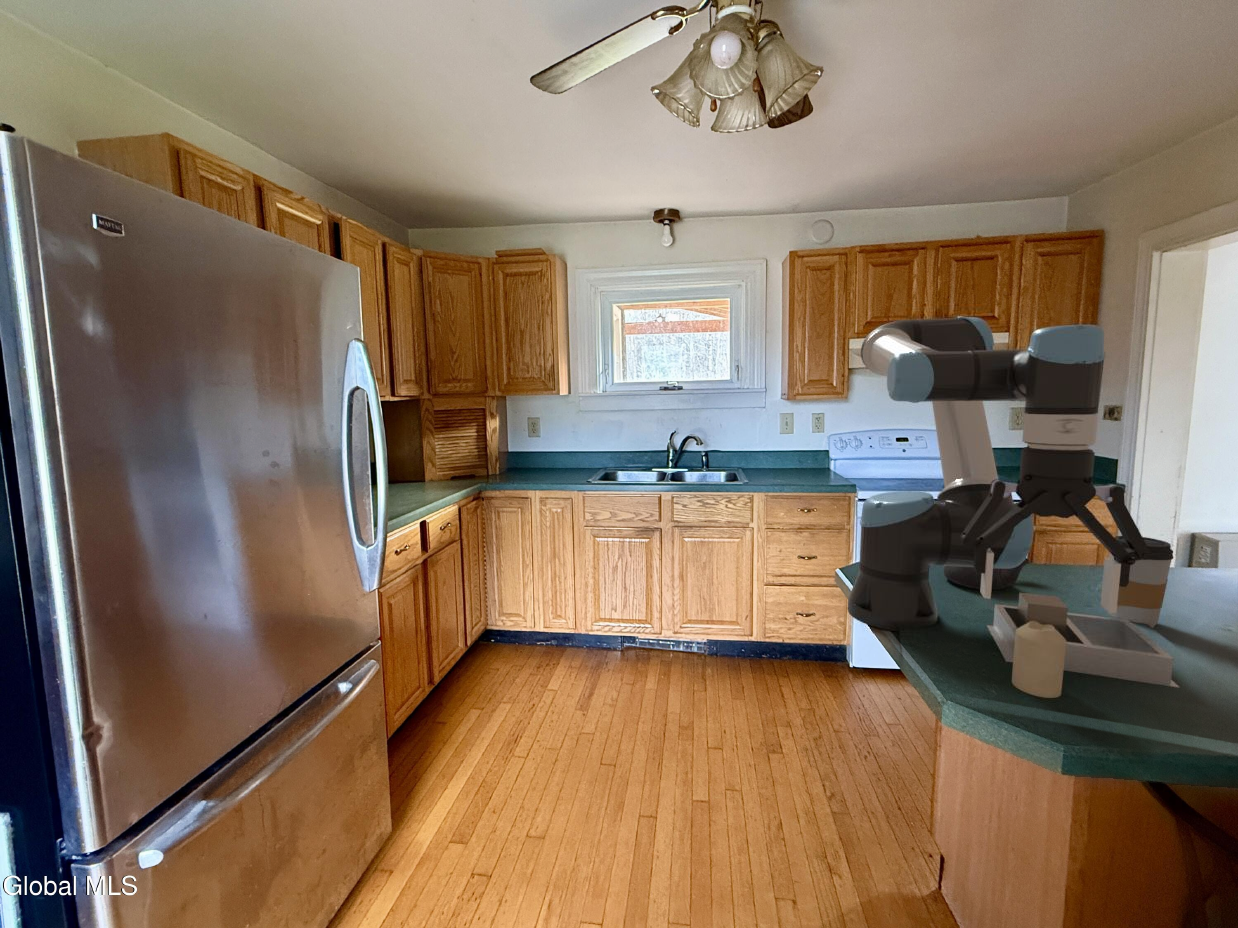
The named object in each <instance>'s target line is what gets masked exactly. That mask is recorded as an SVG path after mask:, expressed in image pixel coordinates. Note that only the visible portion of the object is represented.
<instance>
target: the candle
mask: <svg viewBox="0 0 1238 928" xmlns="http://www.w3.org/2000/svg"><path fill="white" fill-rule="evenodd" d="M1065 649H1066V639H1065V638H1064V637H1063V636H1062V635H1061V634H1060V633H1059V632H1058V631H1057V630H1056V629H1055V628H1054V627H1053V626H1052V625H1042V624H1040V623H1038V622H1036V621H1030V622H1028V623H1027V624H1025V625H1023V626H1021V627H1019V628H1018V629H1016V634H1015V646H1014V658H1013V663H1012V672H1011V684H1012V685H1013V686H1014V687H1015V688H1016V689H1018V690H1020V691H1022V692H1024V693H1027V694H1029V695H1032V696H1036V697H1040V698H1046V699H1047V698H1048V699H1049V698H1050V699H1054V698H1059V697H1061V695H1062V689H1063V680H1064V679H1063V678H1064V671H1065V670H1064V659H1065Z"/></svg>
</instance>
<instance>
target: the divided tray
mask: <svg viewBox="0 0 1238 928" xmlns="http://www.w3.org/2000/svg"><path fill="white" fill-rule="evenodd" d="M993 613H994V614H993V625H989V624H987V625H986V627H987V629H988V631H989V633H990V634H991V637H992V638H993V640H994V642H995V644H996V646H997V648H998V649H999V650H1000V653H1001V654H1002V657H1003V659H1004V660H1005V662H1007V663H1012V664H1013V658H1014V646H1015V634H1016V629H1018V628H1017V615H1018V606H1015V605H1004V604H996V603H995V604H994V611H993ZM1065 639H1066V649H1065V659H1064V670H1063V671H1067V672H1073V673H1079V674H1085V675H1086V674H1087V675H1093V676H1099V677H1100V676H1101V677H1107V678H1113V679H1119V680H1126V681H1133V682H1139V683H1145V684H1153V685H1158V686H1159V685H1160V686H1167V687H1171V688H1172V687H1173V688H1181V687H1180V686H1179V685H1178V684H1177V683H1176V682H1175V681H1173V680H1172V673H1173V667H1174V661H1175V660H1174V658H1173V656H1171V654H1169V653H1168V652H1166V651H1165V650H1164V649H1163V648H1161V646H1159V645H1158V644H1157V643H1156V642H1155V641H1154V640H1152V639H1151V638H1150V637H1149V636H1148V635H1147V634H1145V633H1144V632H1143V631H1142V630H1140V629H1139V628H1138V627H1137V626H1136V625H1135V624H1134V623H1133V622H1132V621H1129V620H1126V619H1121V618H1118V617H1109V616H1099V615H1092V614H1091V615H1090V614H1082V613H1072V612H1067V623H1066V633H1065Z"/></svg>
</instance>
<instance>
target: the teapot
mask: <svg viewBox="0 0 1238 928" xmlns="http://www.w3.org/2000/svg"><path fill="white" fill-rule="evenodd" d="M1030 563H1031V561H1030V560H1029V559H1028V557H1026V558H1025V560H1024V561H1023V562H1022V563H1021V564H1020V565H1019V566H1017V567H1015V568H1010V569H1000V568H993V574H992V588H991V590H1001V589H1005V588H1007V587H1010V586H1011V585H1013V584H1016V583H1017V580H1018V578H1019V576H1020V573H1021V571H1022V569H1023V568H1024V567H1026V566H1027V565H1028V564H1030ZM981 574H982V573H977V572H976V571H975V569H974V567H958V566H944V568H943V575H944V577H945V578H946V579H948V580H949V581H951V582H953V583H955V584H958V585H961V586H963V587H967V588H970V589H975V590H980V589H981Z"/></svg>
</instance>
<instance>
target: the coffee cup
mask: <svg viewBox="0 0 1238 928" xmlns="http://www.w3.org/2000/svg"><path fill="white" fill-rule="evenodd" d="M1113 537H1114V538H1115V539H1116V540H1117V541H1118V542H1119V543H1120V545H1121V546H1122V547H1123V548H1124V549H1129V547H1128V545H1127V544H1126V542H1125V540H1124V538H1123V536H1122V535H1115V536H1113ZM1142 537H1143V539H1144V541H1145V543H1146V545H1147V547H1148V549H1149V550H1150V552H1151V554H1152V557H1151V558H1150V559H1149V560H1143V559H1142V560H1137V561H1136V562H1135V563H1134V564H1133V565H1130V573H1129V583H1128V585H1127V586H1126V587H1120V586H1119V591H1118V601H1117V611H1116V613H1110V612H1108V613H1109V615H1110V616H1113V617H1115V618H1118V619H1126V620H1129V621H1130V622H1131V623H1138V624H1146V625H1147V626H1149V627H1151V629H1153V628H1154V627H1155V626H1156V625H1158V623H1159V619H1160V615H1161V609H1162V607H1163V605H1164V603H1163V602H1164V599H1165V594H1166V589H1167V585H1168V577H1169V573H1170V567H1171V562H1172V560H1173V559H1174V550H1173V549H1172V547H1171V543H1169V542H1167V541H1165V540H1161V539H1156V538H1152V537H1146V536H1142ZM1109 554H1110V555H1109V558H1112V559H1114V556H1113V555H1112V554H1111V553H1110V552H1109Z"/></svg>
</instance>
